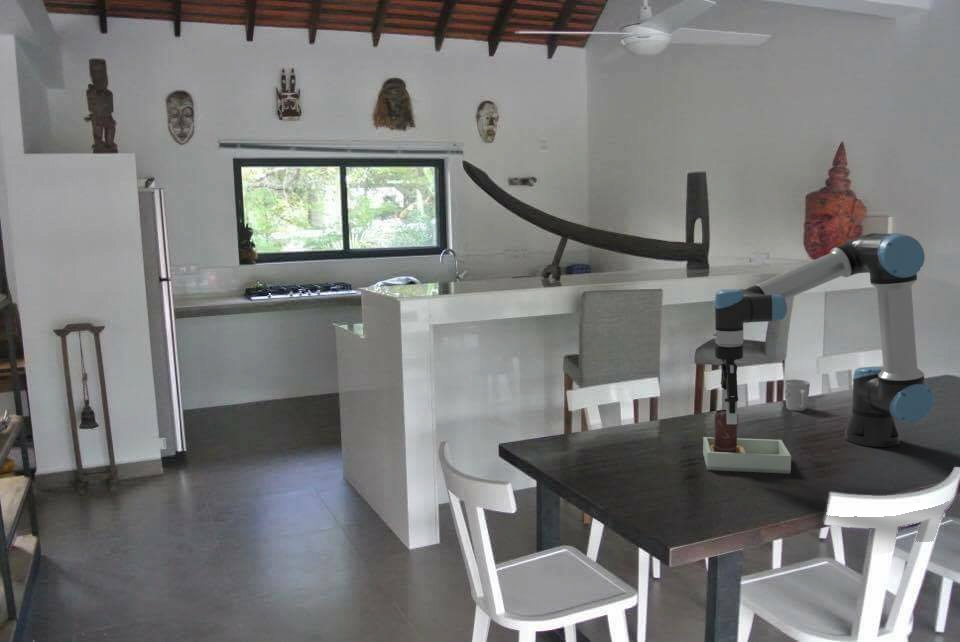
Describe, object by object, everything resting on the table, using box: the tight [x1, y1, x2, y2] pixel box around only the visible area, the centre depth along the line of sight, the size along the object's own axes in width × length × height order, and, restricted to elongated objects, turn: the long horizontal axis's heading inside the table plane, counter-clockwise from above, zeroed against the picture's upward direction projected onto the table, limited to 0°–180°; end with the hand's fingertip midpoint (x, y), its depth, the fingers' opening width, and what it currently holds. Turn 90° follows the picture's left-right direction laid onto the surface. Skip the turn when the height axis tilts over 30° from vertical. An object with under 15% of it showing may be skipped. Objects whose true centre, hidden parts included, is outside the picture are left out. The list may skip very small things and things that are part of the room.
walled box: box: [702, 436, 792, 475], centre depth 214 cm, size 22×15×5 cm
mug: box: [783, 379, 811, 412], centre depth 269 cm, size 11×8×10 cm
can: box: [714, 409, 739, 453], centre depth 214 cm, size 6×6×14 cm
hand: (729, 417), depth 214 cm, fingers open, 13 cm apart
